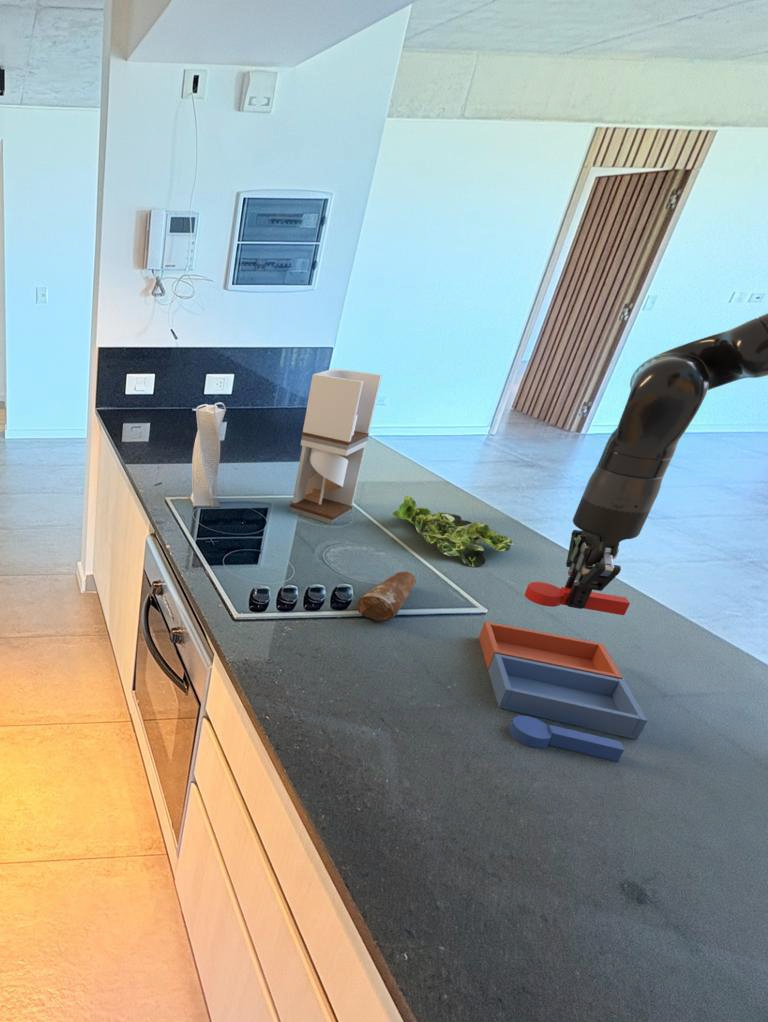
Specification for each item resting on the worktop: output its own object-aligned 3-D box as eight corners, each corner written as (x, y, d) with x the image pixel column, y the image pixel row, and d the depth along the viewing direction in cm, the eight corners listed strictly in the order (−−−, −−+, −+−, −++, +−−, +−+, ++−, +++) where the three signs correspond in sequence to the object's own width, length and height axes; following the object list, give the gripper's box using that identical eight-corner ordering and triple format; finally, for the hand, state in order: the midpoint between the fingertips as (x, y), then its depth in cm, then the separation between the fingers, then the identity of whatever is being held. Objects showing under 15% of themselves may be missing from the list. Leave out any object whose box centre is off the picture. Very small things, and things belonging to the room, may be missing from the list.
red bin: (594, 661, 103) (602, 643, 101) (613, 696, 95) (623, 678, 94) (478, 637, 109) (484, 621, 108) (487, 669, 101) (494, 651, 100)
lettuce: (461, 570, 130) (475, 540, 127) (368, 519, 150) (378, 493, 147) (517, 564, 136) (532, 536, 133) (421, 517, 157) (432, 491, 154)
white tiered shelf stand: (288, 510, 160) (312, 374, 144) (309, 500, 166) (334, 368, 150) (331, 524, 152) (361, 381, 137) (351, 512, 158) (382, 374, 143)
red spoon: (617, 605, 95) (622, 592, 94) (627, 620, 91) (633, 608, 90) (521, 588, 99) (526, 577, 98) (528, 603, 95) (532, 591, 94)
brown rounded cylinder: (352, 617, 116) (358, 592, 113) (391, 581, 127) (398, 557, 125) (387, 631, 111) (394, 605, 109) (424, 592, 123) (432, 568, 120)
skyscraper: (221, 509, 161) (234, 403, 149) (190, 509, 162) (200, 404, 149) (214, 497, 169) (225, 395, 156) (184, 497, 169) (193, 395, 157)
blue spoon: (610, 746, 86) (616, 734, 85) (621, 769, 82) (628, 757, 81) (506, 721, 91) (510, 709, 90) (512, 742, 87) (517, 730, 86)
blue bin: (614, 698, 95) (623, 679, 93) (637, 740, 87) (647, 720, 85) (487, 670, 101) (494, 653, 99) (498, 707, 93) (506, 689, 92)
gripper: (671, 522, 80) (617, 632, 88) (632, 486, 91) (588, 586, 99) (599, 513, 83) (553, 620, 91) (570, 479, 94) (532, 577, 102)
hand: (572, 602), depth 95 cm, fingers closed on red spoon, 2 cm apart
